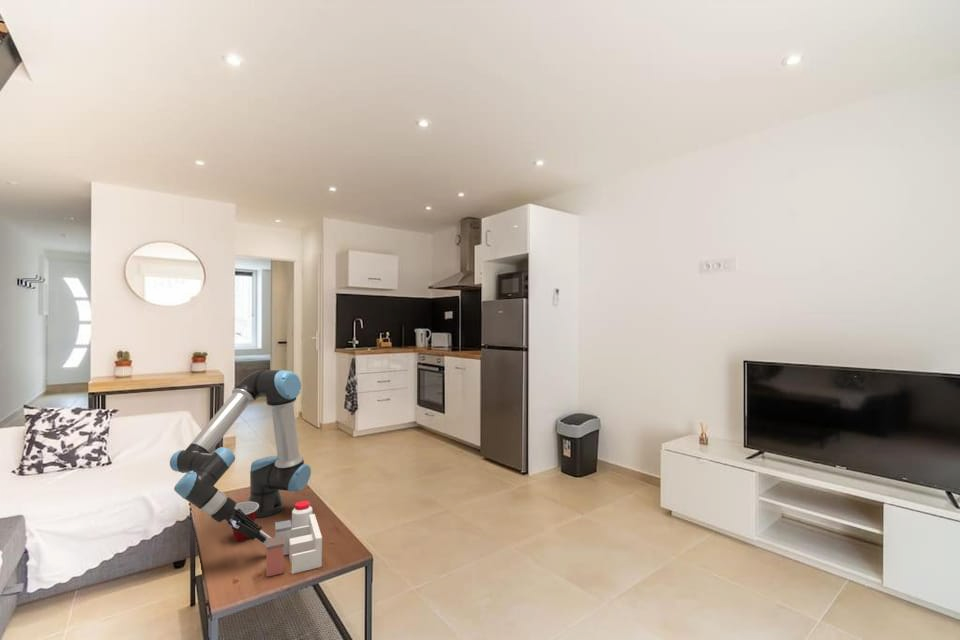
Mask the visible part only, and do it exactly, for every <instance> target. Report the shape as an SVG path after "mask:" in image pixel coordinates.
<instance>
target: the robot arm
mask: <svg viewBox="0 0 960 640" xmlns="http://www.w3.org/2000/svg"><path fill="white" fill-rule="evenodd" d="M301 382H302V381H301V379H300V377H299V375H298V374H297V373H295V372H294V371H290V370H286V369H281V370H280V369H259V370H256V371H253V372H252V373H250V374H249V375H247V376H245V378H242V380H241V381H239V382H238V384H237V385H236V386H235V387H234V388H233V389H232V391H231V395H230V396H229V398H228V399H227V400H226V401H225V403H223V404H222V406H220V408H219V410H217V412H216V413H215V414H214V416H212V418H211V419H210V420H209V421H208V422H207V423H206V425H205V426H204V427H203V428H202V429H201V431H200V432H199V433H198V434H197V435H196V437H195V438H194V439H192V441H191V443H189V445H188V446H187V447H186V448H185V449H182V450H178V451H176V452H174V453H173V454H172V456H171V457H170V459H169V467H170V469H171V470H172V471H174V472H178V473H181V474H184V475H183V476H182V477H181V478H180V479H179V480H178V481H177V483H176V484H174V487H173V490H174V492H175V493H176V494H178V495H179V496H180V497H181V498H182V499H185V500H186V501H187V502H189V503H190V504H192V505H193V506H194V507H197V508H198V509H199V510H200V512H201V514H202V513H205V514H206V515H208V516H210V517H211V519H213V520H215V521H216V522H218V523H222V522H223V521H224V520H226V521H227V524H228V525H230V526H231V530H232V531H233V530H236V531H238V532H240V533H241V534H243V535H245V536H247V537H248V538H249V539H250V540H251V541H254V540H256V541H258V542H259V543H261V544H263V546H265V548H267V546H266V539H268V538H272V537H271V536H270V535H269V534H267V533H266V532H264V530H261V529H262V528H263V527H262V526H260V525H259V524H258V523H256V522H254V521H253V520H251V519H250V518H249V517H248V516H247V515H245V514H244V513H243V512H242V511H241V509H238V510H236V509H234V508H235V506H236V504H237V502H236V501H234V500H233V499H232V498H231V497H228V496H227V494H225V493H224V492H223V491H221V490H220V489H218V488H217V487H216V486H215V484H217V483H218V481H219V480H220V479H221V478H222V476H224V475H225V473H226V472H227V471H228V470H229V469H230V467H231V466H232V464H233V463H234V462H235V460H236V455H235V454H234V452H233V451H232V450H231V449H229V448H227V447H224V446H221V447H218V448H217V449H216V450H214V449H215V447H217V444H218V443H219V442H220V441H221V440H222V439H223V437H224V436H225V435H226V433H227V432H228V431H229V430H230V429H231V427H232V426H233V425H234V424H235V422H236V421H237V419H239V417H240V416H241V415H242V414H243V412H244V411H245V409H246V408H247V407H248V406H249V405H252V404H254V403H255V401H256V400H257V399H259V398H265V402H266V405H267V406H268V407H270V408H271V415H272V416H271V417H272V423H273V431H274V432H273V433H274V439H275V447H276V453H277V454H276V455H272V456H266V457H262V458H259V459H256V460H253V461H252V462H251V464H250V474H249V475H250V476H249V479H250V480H249V481H250V482H249V483H250V485H249V486H250V491H249V498H248V501H247V502H249V501H250V502H256V503H258V504H259V507H258V509H257V512H256V516H255V518H264V517H269V516H273V515H276V514H277V513H279V512H281V511H282V510H283V509H284V500H283V497H282V495H281V492H280V491H285V492H286V491H288V492H290V493H291V492H300V491H302V490H303V489H304V488H305V487H306V486H307V485H308V483H309V480H310V479H311V475H312V474H311V473H312V469H311V466H310V465H309V464H307V463H305V460H304V456H303V455H302V454H300V451H299V443H298V432H297V425H296V416H295V410H294V409H295V408H294V403H296V401H297V398H298V396H299V395H300V393H301V389H302V383H301ZM213 450H214V451H213ZM212 451H213V452H212ZM211 452H212V453H211ZM232 525H233V526H232Z"/></svg>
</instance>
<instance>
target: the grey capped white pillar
mask: <svg viewBox="0 0 960 640" xmlns="http://www.w3.org/2000/svg"><path fill="white" fill-rule="evenodd" d="M274 525H275V526H274V527H275V529H274V530H275V531H274V537H278V536H283V539H284V556H286V555H288V556H289V539H290V538H291V529H292V519H288V520H283V521H281V520H280V521H276V522H274Z"/></svg>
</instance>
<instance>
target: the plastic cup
mask: <svg viewBox="0 0 960 640" xmlns="http://www.w3.org/2000/svg"><path fill="white" fill-rule="evenodd" d="M258 507H259V504H258V503H256V502H250V501H249V502H248V501H243V502H238V503H236V506H235V508H234V509H236V510H238V509H241V511H242V512H243V513H244V514H245V515H247V516H248V517H249V518H250V519H251V520H253V521H254V522H255V521H256V517H255V516H256V512H257V509H258ZM255 523H256V522H255ZM232 526H233V525H231V527H232ZM232 532H233V538H234V540H235V541H237V542H243V541H247V540H249V539H250V538H248V537H247V536H245V535H243V534H241V533H240V532H238V531H236V530H233V529H232Z"/></svg>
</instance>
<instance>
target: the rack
mask: <svg viewBox="0 0 960 640" xmlns="http://www.w3.org/2000/svg"><path fill="white" fill-rule="evenodd" d="M288 558H289V559H288V560H289V563H291V574H292V575H294V574H298V573H301V572H305V571H310V570H314V569H318V568H322V567H323V561H322V560H323V536H322V533H321V530H320V527H319V523H318V521H317V517H316V514H315V513H312V514H311V515H309V525H308V526H302V527H297V528H292V529H291V538H290V539H289V554H288Z"/></svg>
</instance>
